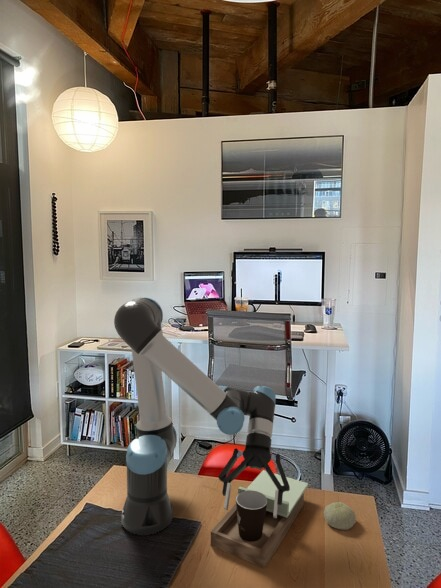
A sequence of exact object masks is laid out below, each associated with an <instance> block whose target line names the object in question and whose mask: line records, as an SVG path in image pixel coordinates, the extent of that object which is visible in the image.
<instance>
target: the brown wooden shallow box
mask: <svg viewBox="0 0 441 588" xmlns="http://www.w3.org/2000/svg"><path fill="white" fill-rule="evenodd" d="M304 494H305V493H303V494H302V496H301V497H300V499H299V500H298V502H297V503H296V505H295V507H294V508H293V510H292V511H291V513H290V514H289V516H288V517H287V518H286V517H283V516H280V515H278V514H277V518H274V517H273V513H272V512H269V511H266V513H265V519H264V526H263V532H262V537H261V538H260V539H259V540H257V541H254V542H249V541H246V540H244V539H242V538H241V537H240V535H239V529H238V518H237V507H236V503H234V505H233V506H232V507H231V509H229V510H228V512H227V513H226V514H225V515H224V516H223V517H222V518H221V519H220V520H219V522H218V523H217V524H216V525H215V526H214V528H213V529H212V530H211V531H210V546H211V547H213V548H216V549H219V550H220V551H223V552H225V553H228V554H230V555H233V556H235V557H238V558H239V559H242V560H243V561H247V562H249V563H251V564H254V565H257V566H258V567H261V568H264V569H265V568H267V565H268V564H269V562H270V561H271V559H272V557H273V556H274V555H275V552H276V551H277V549H278V547H280V544H281V543H282V541H283V539H285V536H286V535H287V533H288V532H289V529H290V528H291V526H292V524H293V523H294V522H295V520H296V518H297V516H298V515H299V513H300V512H301V511H302V509H303V507H304V499H305V497H304ZM301 508H302V509H301Z"/></svg>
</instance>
